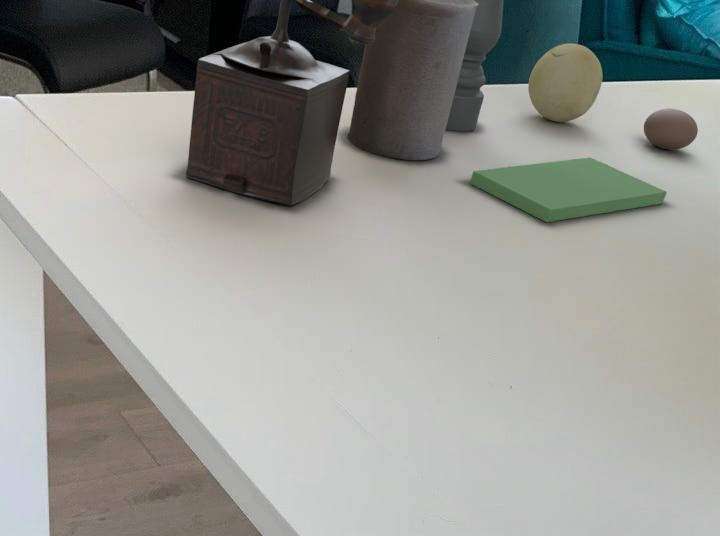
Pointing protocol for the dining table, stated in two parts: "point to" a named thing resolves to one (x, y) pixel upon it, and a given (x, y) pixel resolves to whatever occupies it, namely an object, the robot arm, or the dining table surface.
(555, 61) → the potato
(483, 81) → the candle holder
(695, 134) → the brown ellipsoid
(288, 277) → the dining table surface
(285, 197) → the vintage coffee grinder
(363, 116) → the pillar candle
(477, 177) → the green slab
